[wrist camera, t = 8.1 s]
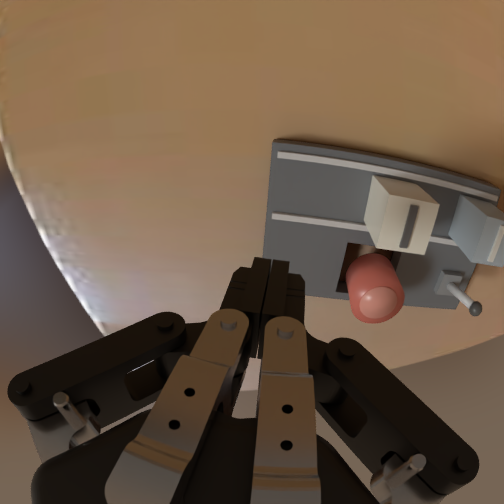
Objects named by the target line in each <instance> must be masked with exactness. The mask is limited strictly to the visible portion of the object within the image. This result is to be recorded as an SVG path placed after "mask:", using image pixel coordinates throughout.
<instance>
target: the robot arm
mask: <svg viewBox="0 0 504 504" xmlns="http://www.w3.org/2000/svg"><path fill="white" fill-rule="evenodd" d="M271 262H272V266H271ZM289 263H290V261H283V260H275V259H273V261H272V259H267V258H259V257H254V261H253V264H252V267H251V268H247V267H240V268H239V269H238V270H236V271H235V272H234V273H233V275H232V278H231V281H230V283H229V286H228V289H227V291H226V294H225V296H224V299H223V302H222V304H221V307H220V310H218V311H216V312H214V313H213V314H212V315H211V316H210V318H209V319H208V321H205V322H201V323H187V324H185V320H184V319H183V317H181V316H180V315H179V314H176V313H173V312H161V313H158V314H155V315H153V316H151V317H148V318H146V319H144V320H142V321H139V322H137V323H135V324H133V325H130V326H128V327H126V328H124V329H121V330H119V331H117V332H115V333H112V334H110V335H108V336H105V337H103V338H101V339H99V340H97V341H94V342H92V343H89V344H87V345H85V346H83V347H80V348H78V349H76V350H73V351H71V352H69V353H67V354H64V355H62V356H59V357H57V358H55V359H52V360H50V361H48V362H45V363H43V364H41V365H38V366H36V367H33V368H31V369H29V370H26V371H24V372H22V373H19V374H17V375H16V376H15V377H14V378H13V379H12V380H11V381H10V384H9V386H8V397H9V399H10V401H11V402H12V403H13V404H14V406H15V407H16V408H17V409H18V410H19V411H20V413H21V415H22V416H23V417H24V418H25V419H26V420H27V423H28V426H29V429H30V432H31V435H32V438H33V441H34V444H35V446H36V449H37V452H38V454H39V457H40V459H41V462H42V464H41V465H40V467H39V468H38V469H37V471H36V472H35V474H34V476H33V479H32V483H31V497H32V504H439V503H440V502H441V501H442V500H443V498H444V497H445V496H447V495H449V494H451V493H452V492H454V491H456V490H458V489H459V488H461V487H462V486H464V485H466V484H468V483H469V482H471V481H472V480H473V479H474V478H475V476H476V475H477V473H478V469H479V459H478V456H477V454H476V452H475V451H474V450H473V449H472V448H471V447H470V446H469V445H468V444H467V443H466V442H465V441H464V440H463V439H462V438H461V437H460V436H459V435H457V434H456V433H455V432H454V431H453V430H452V429H451V428H450V427H449V426H448V425H447V424H446V423H445V422H444V421H443V420H442V419H440V418H439V417H438V416H437V415H436V414H435V413H434V412H433V411H432V410H431V409H430V408H429V407H427V405H425V404H424V403H423V402H422V401H421V400H420V399H419V398H418V397H417V396H416V395H415V394H414V393H412V391H411V390H409V389H408V388H407V387H406V386H405V385H404V384H403V383H402V382H401V381H400V380H399V379H398V378H396V377H395V376H394V375H393V374H392V373H391V372H390V371H389V370H388V369H387V368H386V367H385V366H384V365H383V364H381V363H380V362H379V361H378V360H377V359H376V358H375V357H374V356H373V355H372V354H371V353H370V352H369V351H367V350H366V349H365V348H364V347H363V346H362V345H361V344H360V343H359V342H357V341H355V340H353V339H350V338H336V339H334V340H332V341H331V342H329V344H328V343H326V342H323V341H320V340H318V339H316V338H314V337H312V336H311V335H310V334H309V333H308V332H307V330H306V329H305V326H304V311H305V281H304V279H303V278H302V276H301V274H293V273H289ZM258 344H259V348H258ZM257 349H258V357H257V358H258V359H261V367H260V375H259V385H258V396H257V407H256V417H255V418H245V419H237V418H233V417H232V413H233V409H234V406H235V404H236V400H237V398H238V395H239V392H240V389H241V386H242V383H243V380H244V377H245V374H246V368H247V366H248V363H249V358H250V357H251V358H256V354H257ZM152 360H154V361H152ZM150 361H152V362H150ZM148 362H150V363H148ZM146 363H148V364H146ZM144 364H146V365H144ZM142 365H144V366H142ZM140 366H142V367H140ZM138 367H140V368H138ZM136 368H138V369H136ZM134 369H136V370H134ZM132 370H134V371H132ZM130 371H132V372H130ZM128 372H130V373H128ZM127 373H128V374H127ZM155 401H156V402H155ZM153 402H155V404H154V406H153V408H152V409H149V410H146V411H144V412H141V413H139V414H137V415H136V416H134V417H132V418H130V419H128V420H126V421H124V422H123V423H121V424H119V425H117V426H115V427H113V428H111V429H110V430H108V431H106V432H104V433H102V434H100V432H101V428H103V427H105V426H107V425H109V424H111V423H114V422H116V421H117V420H120V419H122V418H124V417H126V416H128V415H129V414H132V413H133V412H135V411H137V410H139V409H141V408H143V407H145V406H147V405H149V404H151V403H153ZM315 409H316V410H317V411H318V412H319V414H320V415H321V416H322V417H323V418H324V419H325V421H326V422H327V423H328V424H329V425H330V426H331V428H332V429H333V430H334V431H335V432H336V433H337V435H338V436H339V437H340V438H341V439H342V440H343V441H344V443H346V445H347V446H348V447H349V448H350V449H351V450H352V452H353V453H354V454H355V455H356V456H357V457H358V458H359V459H360V460H361V462H362V463H363V464H364V465H365V466H366V467H367V468H368V469H369V470H370V471H371V472H372V473H373V475H372V477H371V481H370V488H371V491H372V493H373V494H374V496H375V497H376V498H375V497H374V496H373V495H372V494H371V492H370V491H369V490H368V489H367V487H366V486H365V485H364V484H363V483H362V482H361V480H360V479H359V478H358V477H357V475H356V474H355V473H354V472H353V471H352V469H351V468H350V467H349V466H348V464H347V463H346V462H345V461H344V459H343V458H342V457H341V456H340V454H339V453H338V452H337V451H336V449H335V448H334V447H333V446H332V445H331V444H330V443H329V442H328V441H326V440H325V439H324V438H322V437H320V436H319V435H317V434H316V417H315Z"/></svg>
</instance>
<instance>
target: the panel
mask: <svg viewBox="0 0 504 504" xmlns="http://www.w3.org/2000/svg"><path fill="white" fill-rule="evenodd" d="M373 175H376V176H381V177H386V178H391V179H396V180H401V181H406V182H411V183H416V184H417V185H418V186H419V187H421V188H422V189H423V190H424V191H425V192H426V193H427V194H429V195H430V196H431V197H432V198H433V199H434V200H435V201H436V202H437V203H438V204H440V206H439V209H438V213H437V216H436V220H435V223H434V227H433V230H432V233H431V236H430V239H429V242H428V246H427V249H426V251H425V254H424V255H421V254H414V253H407V252H400V251H394V252H393V255H392V258H391V261H390V262H391V264H392V266H393V268H394V270H395V272H396V274H397V277H398V279H399V281H400V284H401V286H402V288H403V291H404V295H405V299H404V303H403V305H405V306H416V307H429V308H442V309H456V308H457V306H458V304H459V302H460V301H461V302H462V303H463V304H464V305H465V306H466V307H467V308H468V309H469V312H470V314H471V315H472V316H478V315H480V313H481V312H482V305H481V303H480V302H477V301H473V300H472V299H471V298H470V297H469V296H468V295H467V294H466V293H464V291H465V289H466V287H467V285H468V282H469V280H470V278H471V276H472V273H473V271H474V269H475V266H476V264H477V263H473V262H471V261H470V260H469V259H468V258H467V256H466V255H465V254H464V253H463V251H462V250H461V249H460V248H459V247H458V245H457V244H456V243H455V242H454V241H453V240H452V238H451V237H450V236H449V235H448V233H449V230H450V227H451V224H452V221H453V217H454V214H455V210H456V207H457V203H458V200H459V196H460V194H461V195H465V196H469V197H472V198H476V199H479V200H483V201H486V202H490V203H492V204H493V205H494V206H496V207H497V204H498V200H499V196H500V193H501V190H500V189H499V188H497V187H496V186H494V185H492V184H491V183H488V182H485V181H482V180H478V179H475V178H472V177H469V176H465V175H462V174H459V173H455V172H452V171H448V170H444V169H441V168H437V167H433V166H429V165H425V164H421V163H417V162H413V161H408V160H404V159H400V158H395V157H390V156H385V155H380V154H375V153H370V152H365V151H359V150H354V149H348V148H342V147H335V146H329V145H322V144H315V143H307V142H299V141H290V140H281V139H274V140H273V142H272V154H271V166H270V178H269V190H268V202H267V213H266V225H265V236H264V247H263V258H267V259H272V261H273V259H275V260H283V261H290V263H289V273H293V274H301V276H302V278H303V279H304V281H305V295H307V296H316V297H324V298H333V299H343V300H350V299H349V293H348V288H347V283H346V282H344V281H338V280H339V276H340V272H341V268H342V264H343V260H344V256H345V251H346V247H347V243H348V242H349V243H356V244H363V245H371V246H375V244H374V242H373V240H372V238H371V235H370V233H369V231H368V229H367V226H366V224H365V222H364V216H365V211H366V206H367V201H368V197H369V192H370V186H371V181H372V176H373ZM271 266H272V262H271Z"/></svg>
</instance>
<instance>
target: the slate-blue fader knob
mask: <svg viewBox="0 0 504 504" xmlns="http://www.w3.org/2000/svg"><path fill="white" fill-rule="evenodd" d="M448 235H449V236H450V237H451V238H452V240H453V241H454V242H455V243H456V244H457V245H458V247H459V248H460V249H461V250H462V251H463V253H464V254H465V255H466V256H467V258H468V259H469V260H470V261H471V262H473V263H479V264H486V265H492V266H498V267H503V265H504V213H503V212H502V211H501V210H500V209H498V208H497V207H496V206H494V205H493V204H492V203H490V202H486V201H483V200H479V199H476V198H472V197H469V196H465V195H461V194H460V196H459V200H458V203H457V207H456V210H455V214H454V217H453V221H452V224H451V227H450V230H449V233H448Z"/></svg>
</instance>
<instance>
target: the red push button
mask: <svg viewBox="0 0 504 504" xmlns="http://www.w3.org/2000/svg"><path fill="white" fill-rule="evenodd" d="M346 283H347V288H348V293H349V299H350V304H351V309H352V312H353V314H354V316H355V317H356V318H357V319H359V320H360V321H363V322H365V323H381V322H384V321H387V320H389V319H390V318H392V317H393V316H395V315H396V314H397V313H398V312H399V311H400V309H401V308H402V306H403V303H404V299H405V295H404V291H403V288H402V286H401V284H400V281H399V279H398V277H397V274H396V272H395V270H394V268H393V266H392V264H391V262H390V260H389V259H388V258H386V257H385V256H383V255H381V254H377V253H369V254H365V255H362V256H360V257H358V258H357V259H355V260H354V261H353V262H352V263H351V264H350V266H349V267H348V269H347V272H346Z"/></svg>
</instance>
